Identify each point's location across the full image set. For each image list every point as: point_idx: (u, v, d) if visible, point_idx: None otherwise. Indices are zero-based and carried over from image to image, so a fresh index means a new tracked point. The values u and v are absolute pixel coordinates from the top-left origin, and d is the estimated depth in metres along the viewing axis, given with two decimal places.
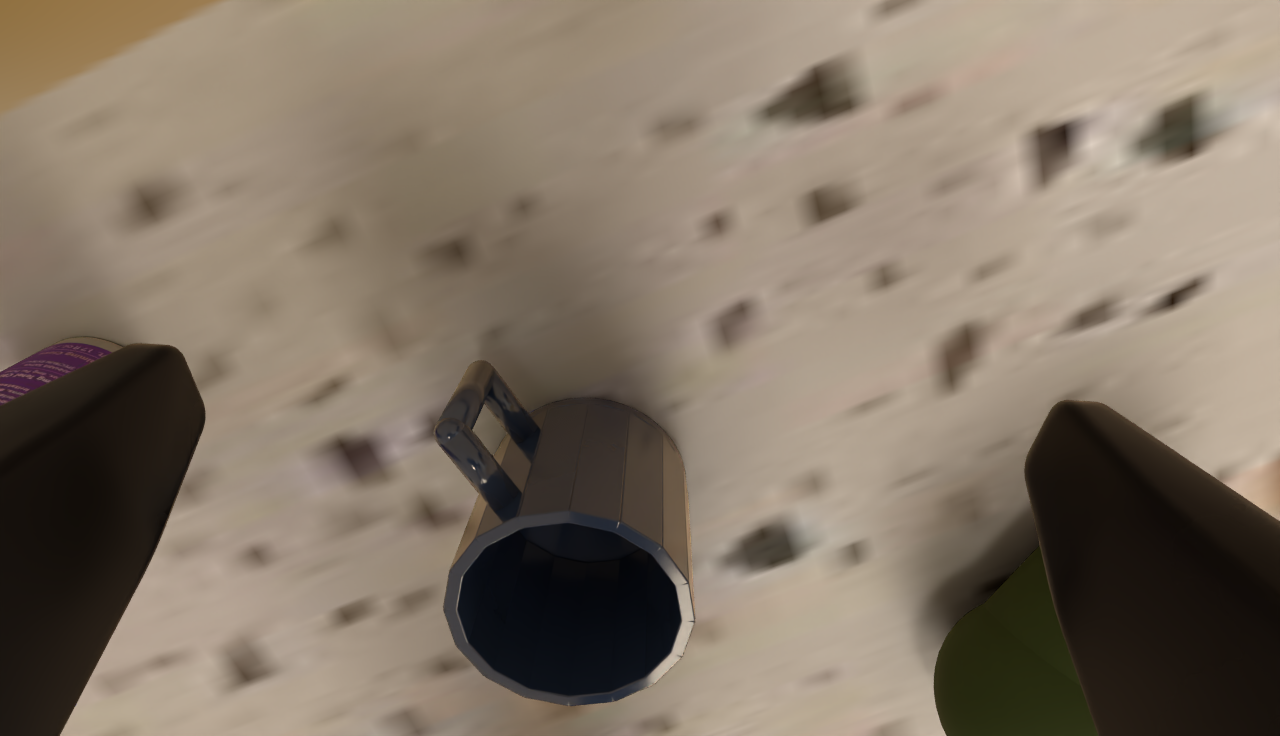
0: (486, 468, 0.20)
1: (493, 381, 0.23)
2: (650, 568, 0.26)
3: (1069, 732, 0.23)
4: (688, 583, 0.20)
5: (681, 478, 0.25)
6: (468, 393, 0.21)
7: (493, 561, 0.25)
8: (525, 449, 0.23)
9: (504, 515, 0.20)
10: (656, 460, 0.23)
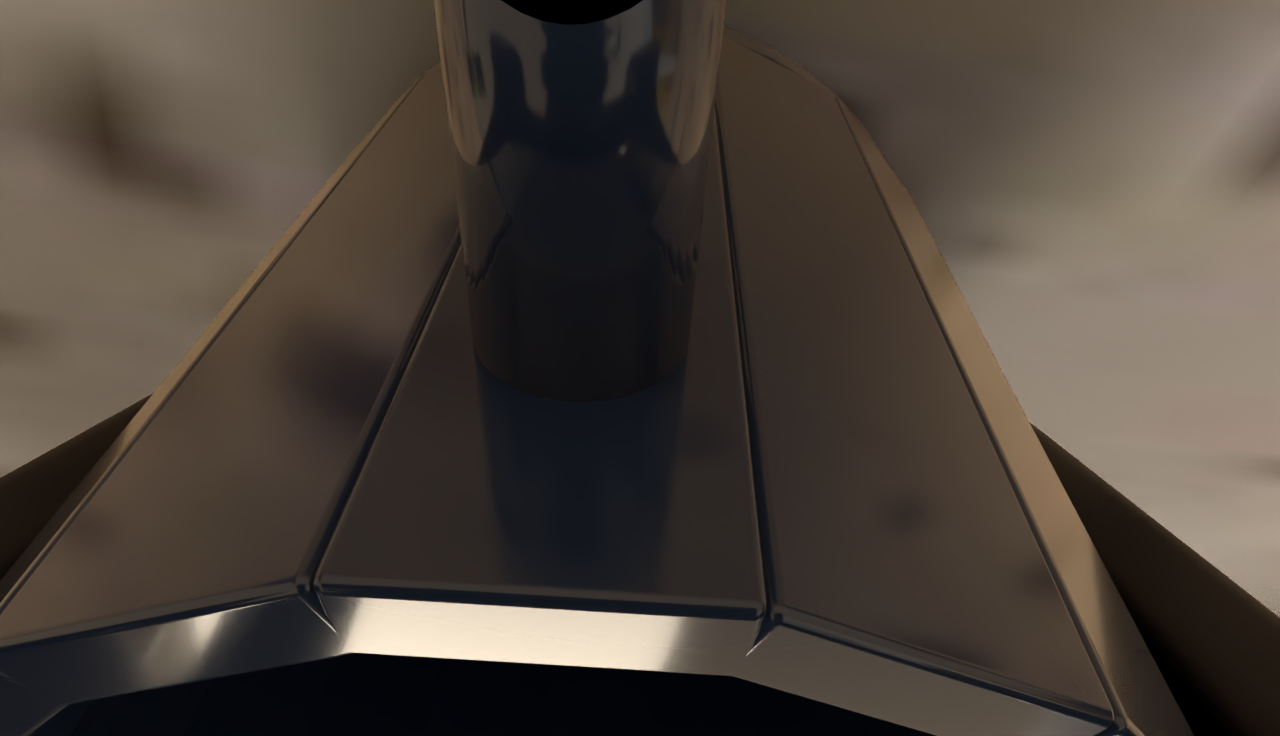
0: (675, 75, 0.02)
1: None
2: None
3: None
4: None
5: None
6: None
7: None
8: None
9: (615, 501, 0.02)
10: None
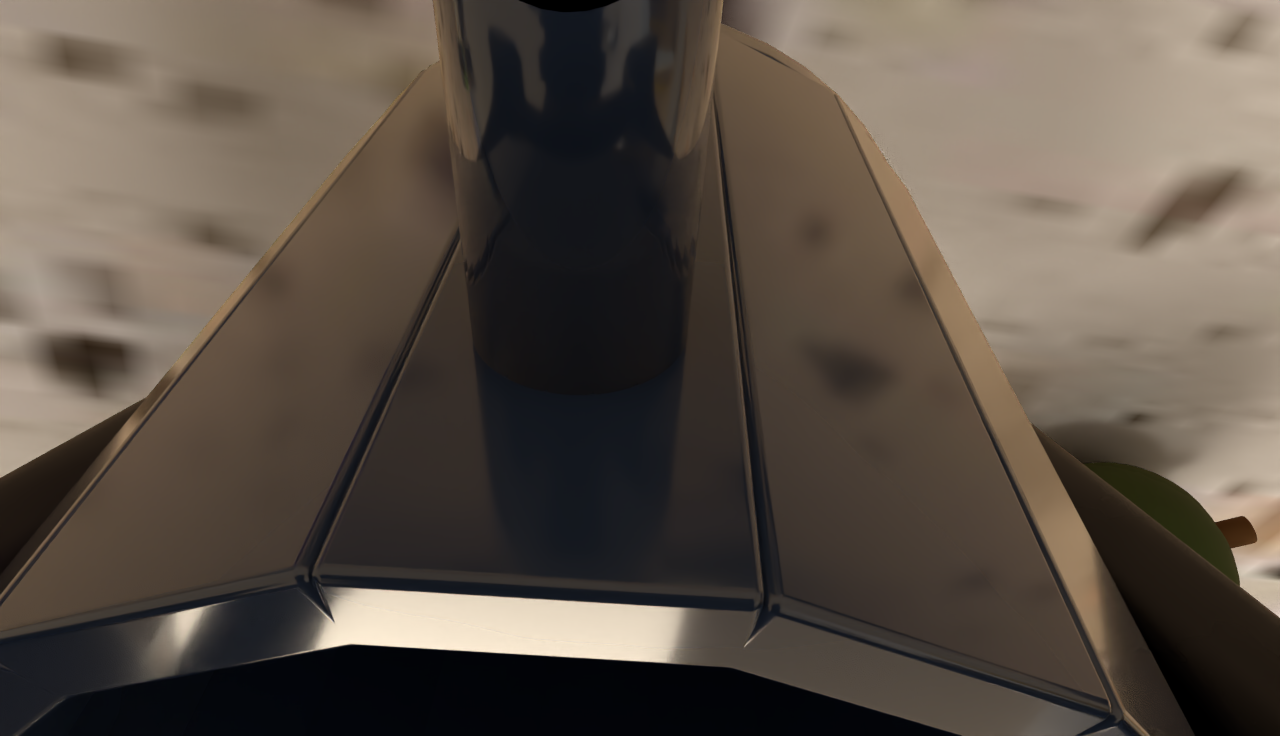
0: (673, 67, 0.02)
1: None
2: None
3: None
4: None
5: None
6: None
7: None
8: None
9: (614, 493, 0.02)
10: None
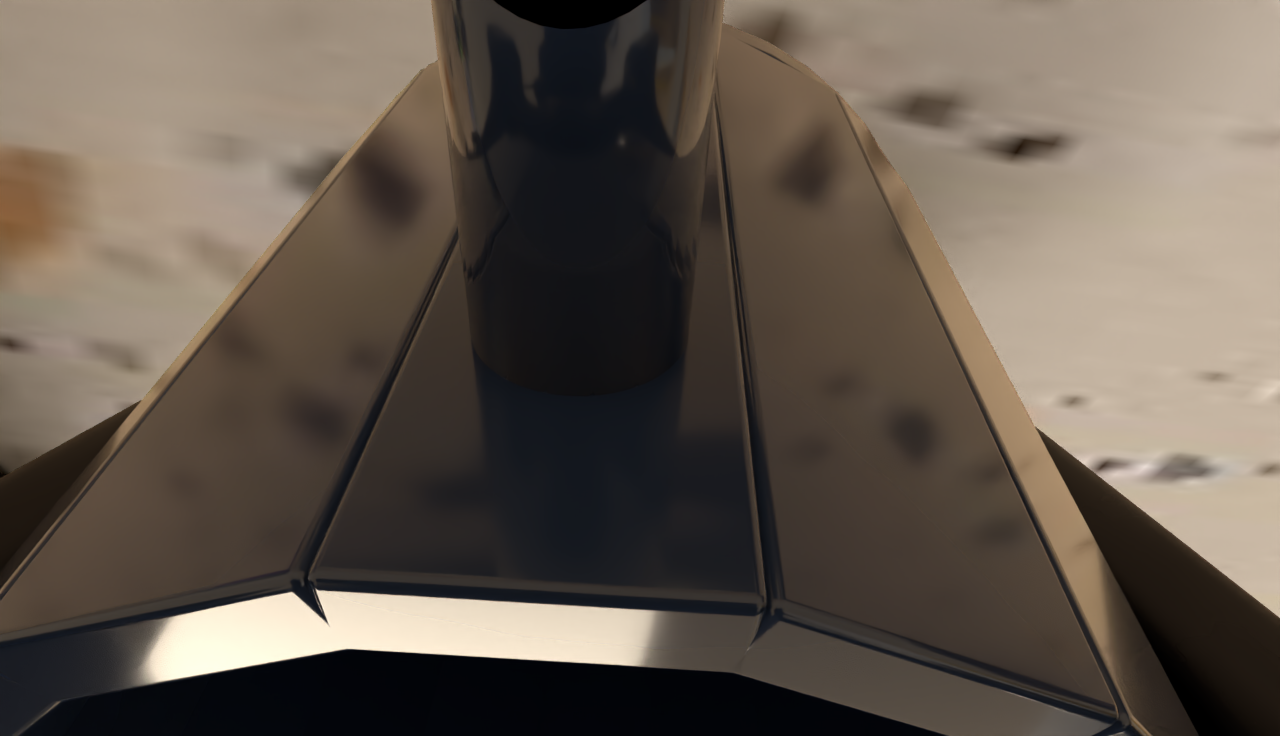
0: (674, 64, 0.02)
1: None
2: None
3: None
4: None
5: None
6: None
7: None
8: None
9: (614, 496, 0.02)
10: None
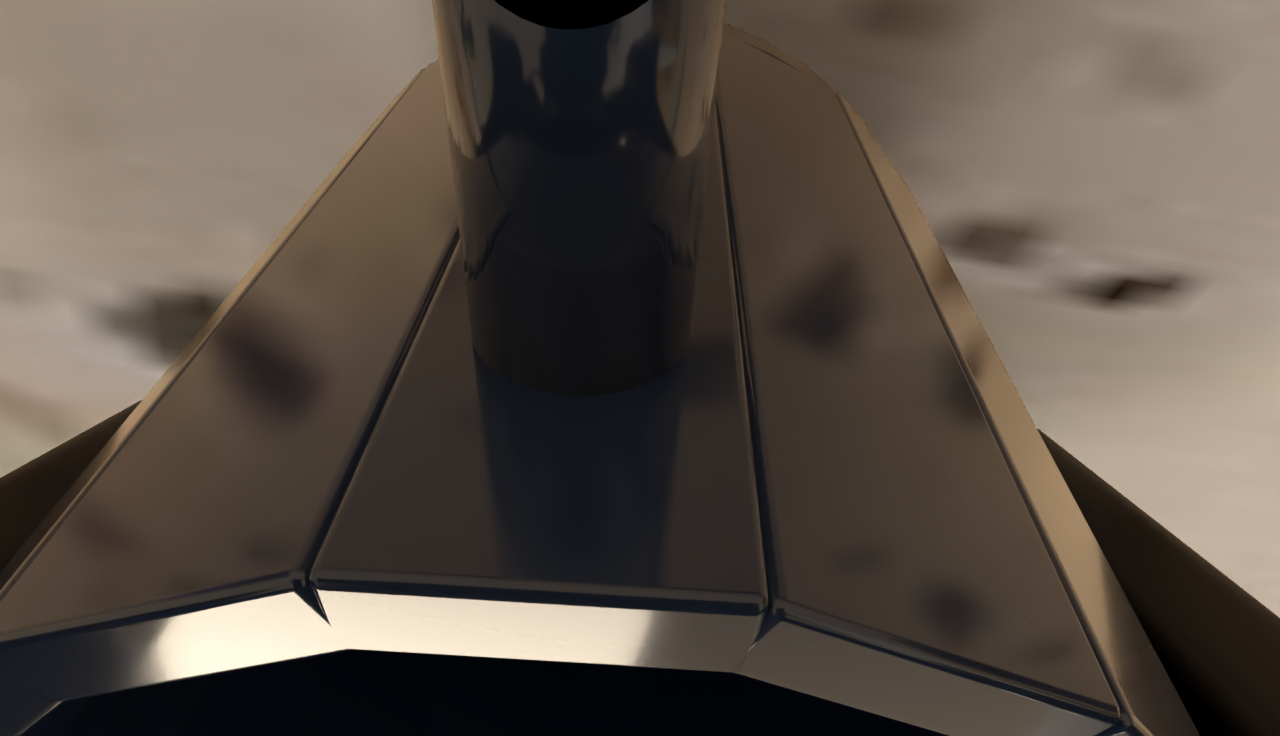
0: (676, 63, 0.02)
1: None
2: None
3: None
4: None
5: None
6: None
7: None
8: None
9: (615, 495, 0.02)
10: None
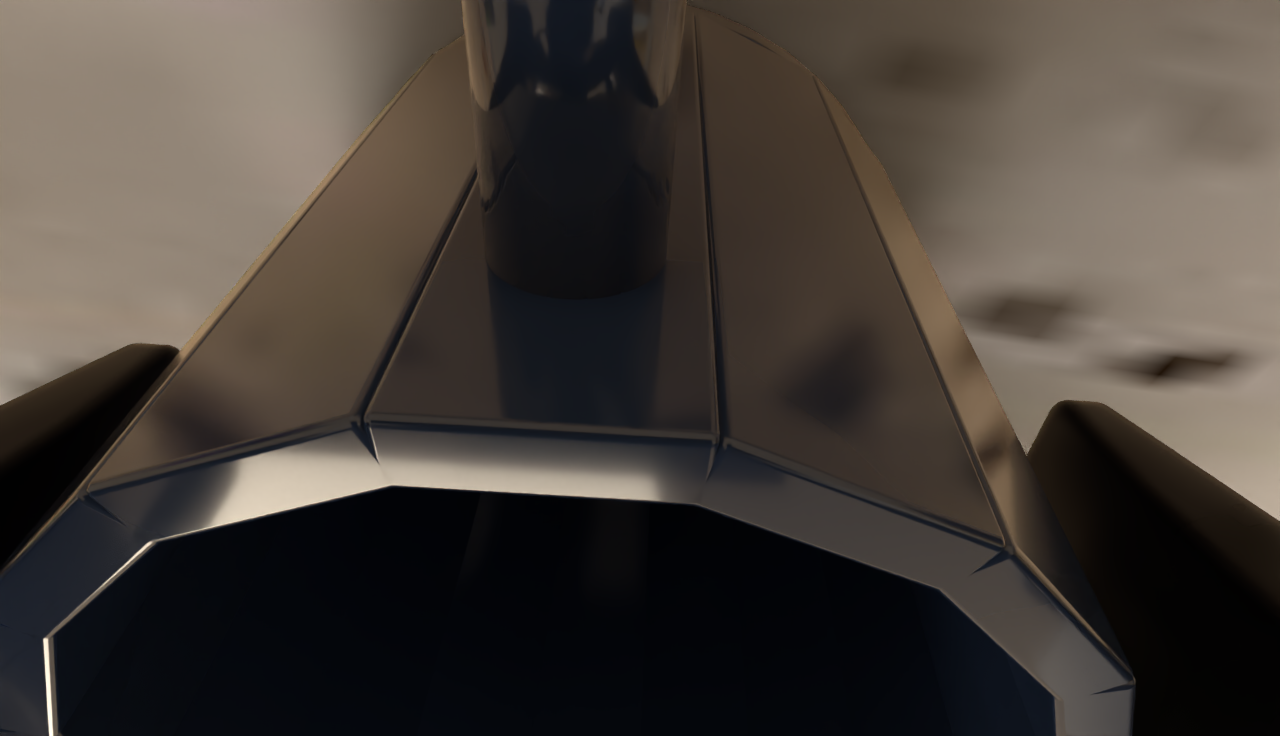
0: (648, 21, 0.03)
1: None
2: (661, 539, 0.10)
3: None
4: None
5: None
6: None
7: None
8: None
9: (602, 366, 0.03)
10: None
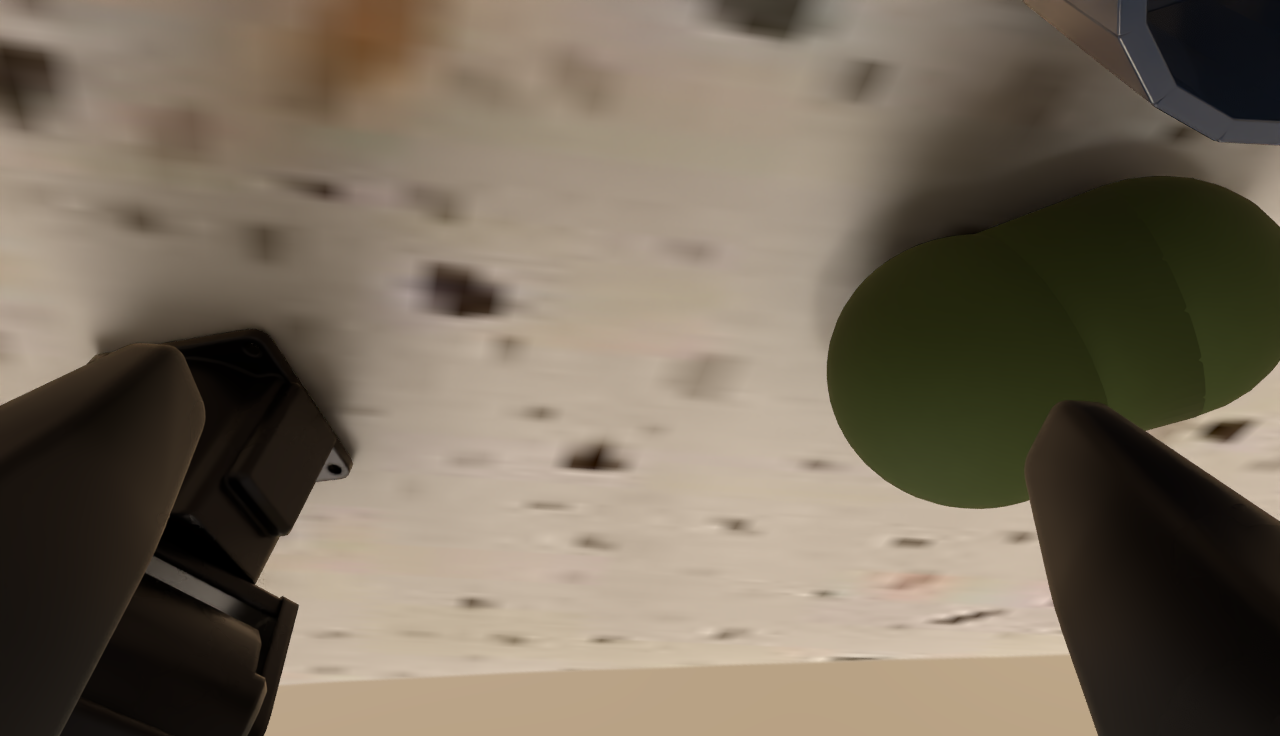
0: None
1: None
2: (1182, 30, 0.15)
3: (1042, 388, 0.16)
4: None
5: None
6: None
7: None
8: None
9: None
10: None
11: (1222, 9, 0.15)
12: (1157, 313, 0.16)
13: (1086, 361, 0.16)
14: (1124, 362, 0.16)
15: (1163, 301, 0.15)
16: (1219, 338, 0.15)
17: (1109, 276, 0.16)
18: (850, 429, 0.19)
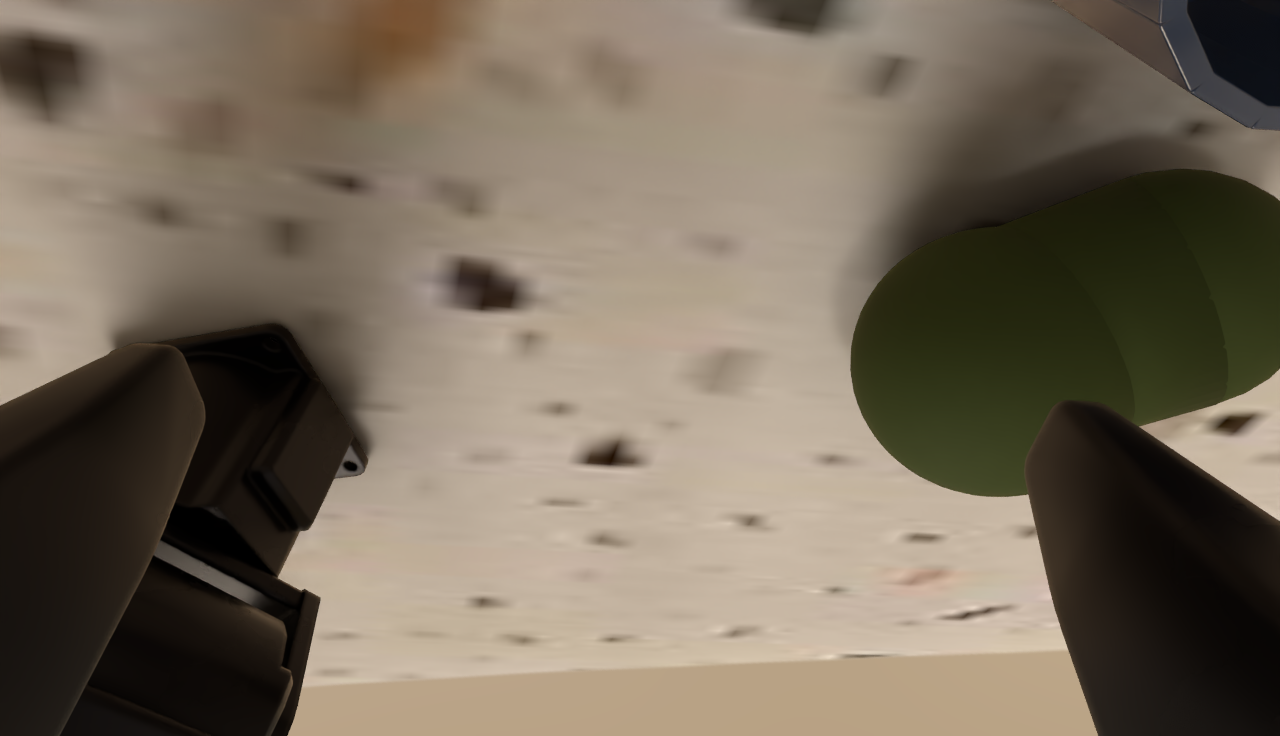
0: None
1: None
2: (1205, 26, 0.16)
3: (1071, 375, 0.16)
4: None
5: None
6: None
7: None
8: None
9: None
10: None
11: (1242, 5, 0.16)
12: (1182, 300, 0.16)
13: (1113, 348, 0.16)
14: (1150, 349, 0.16)
15: (1188, 289, 0.16)
16: (1243, 325, 0.16)
17: (1134, 265, 0.16)
18: (876, 419, 0.19)
